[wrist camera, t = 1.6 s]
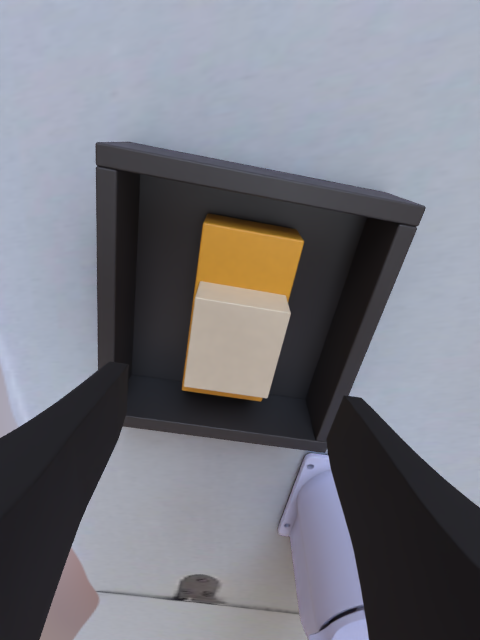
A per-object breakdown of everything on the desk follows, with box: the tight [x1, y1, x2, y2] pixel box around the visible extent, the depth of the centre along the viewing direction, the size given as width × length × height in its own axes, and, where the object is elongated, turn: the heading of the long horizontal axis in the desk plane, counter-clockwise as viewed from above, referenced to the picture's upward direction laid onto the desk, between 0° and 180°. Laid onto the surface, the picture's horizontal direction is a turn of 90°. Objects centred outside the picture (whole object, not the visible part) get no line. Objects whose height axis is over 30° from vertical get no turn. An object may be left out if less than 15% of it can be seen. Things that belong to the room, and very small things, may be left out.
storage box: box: [96, 142, 425, 453], centre depth 18 cm, size 14×13×4 cm
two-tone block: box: [182, 214, 304, 401], centre depth 17 cm, size 9×4×5 cm, turn 170°
